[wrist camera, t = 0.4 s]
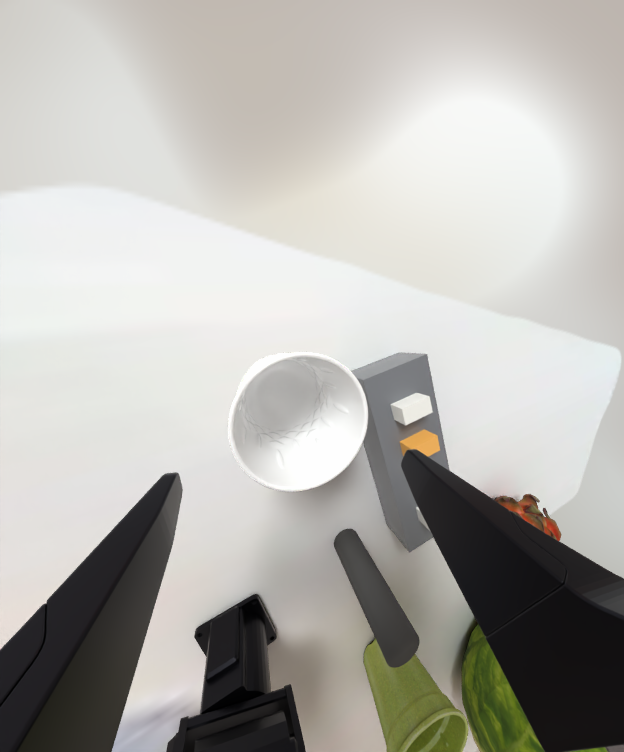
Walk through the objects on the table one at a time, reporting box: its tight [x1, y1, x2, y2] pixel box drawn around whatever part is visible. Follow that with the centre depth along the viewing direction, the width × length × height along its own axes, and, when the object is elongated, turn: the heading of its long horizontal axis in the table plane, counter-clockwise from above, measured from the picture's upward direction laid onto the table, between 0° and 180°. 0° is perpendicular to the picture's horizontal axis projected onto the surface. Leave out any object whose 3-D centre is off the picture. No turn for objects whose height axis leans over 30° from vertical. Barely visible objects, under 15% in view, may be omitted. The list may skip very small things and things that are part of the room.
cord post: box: [334, 529, 419, 668], centre depth 22 cm, size 3×3×10 cm
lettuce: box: [462, 624, 607, 752], centre depth 30 cm, size 18×23×19 cm
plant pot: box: [364, 638, 468, 752], centre depth 27 cm, size 9×9×9 cm
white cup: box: [228, 352, 368, 492], centre depth 17 cm, size 8×8×10 cm
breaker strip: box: [351, 353, 449, 552], centre depth 24 cm, size 20×7×6 cm, turn 18°
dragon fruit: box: [495, 494, 561, 541], centre depth 30 cm, size 8×8×12 cm
